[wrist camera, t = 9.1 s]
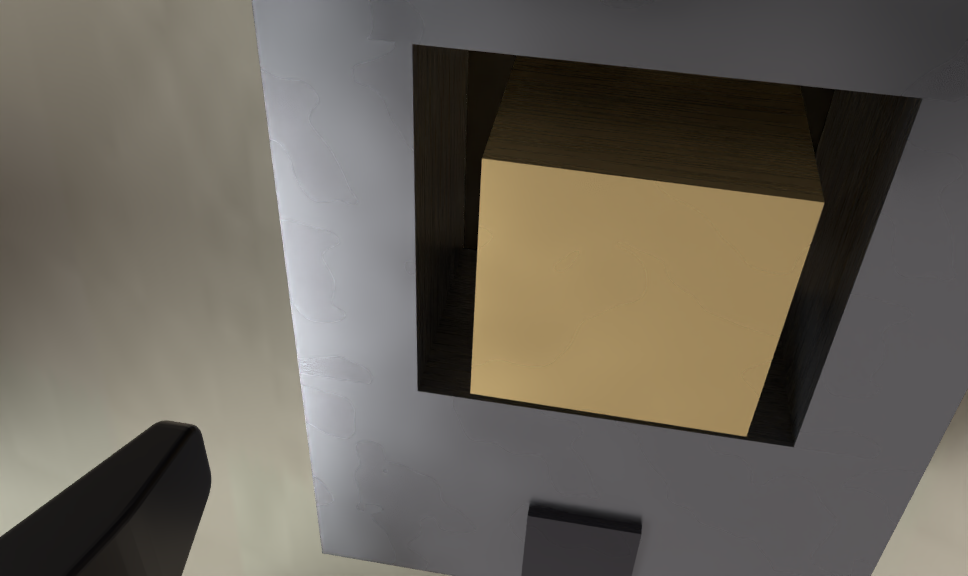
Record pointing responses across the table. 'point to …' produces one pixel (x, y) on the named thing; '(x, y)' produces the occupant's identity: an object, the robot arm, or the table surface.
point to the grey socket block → (592, 436)
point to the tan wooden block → (640, 240)
